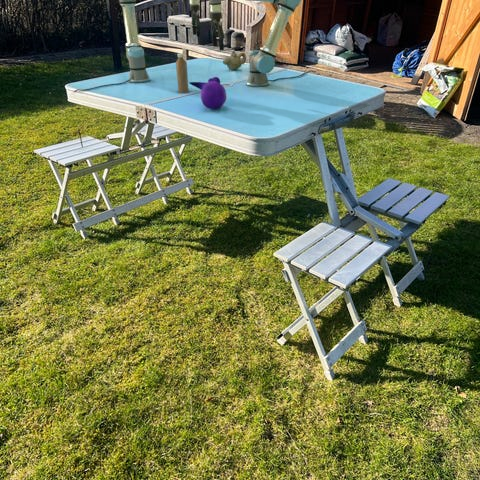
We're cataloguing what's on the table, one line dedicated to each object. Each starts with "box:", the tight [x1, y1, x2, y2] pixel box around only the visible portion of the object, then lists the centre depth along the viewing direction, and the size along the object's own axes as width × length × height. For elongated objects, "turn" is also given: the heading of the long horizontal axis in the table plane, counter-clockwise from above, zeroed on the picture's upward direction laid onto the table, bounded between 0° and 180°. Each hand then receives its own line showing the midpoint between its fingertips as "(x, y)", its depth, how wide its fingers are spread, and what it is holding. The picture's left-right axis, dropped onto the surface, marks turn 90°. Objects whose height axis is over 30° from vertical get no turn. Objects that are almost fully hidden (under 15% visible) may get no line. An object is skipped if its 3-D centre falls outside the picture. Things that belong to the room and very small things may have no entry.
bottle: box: [175, 57, 190, 94], centre depth 299 cm, size 7×7×24 cm
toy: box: [188, 76, 227, 111], centre depth 263 cm, size 16×18×27 cm
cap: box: [177, 52, 185, 58], centre depth 294 cm, size 4×4×2 cm
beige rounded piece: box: [222, 50, 247, 71], centre depth 368 cm, size 21×12×15 cm, turn 120°
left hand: (196, 35), depth 349 cm, fingers open, 13 cm apart
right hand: (218, 48), depth 291 cm, fingers open, 13 cm apart
